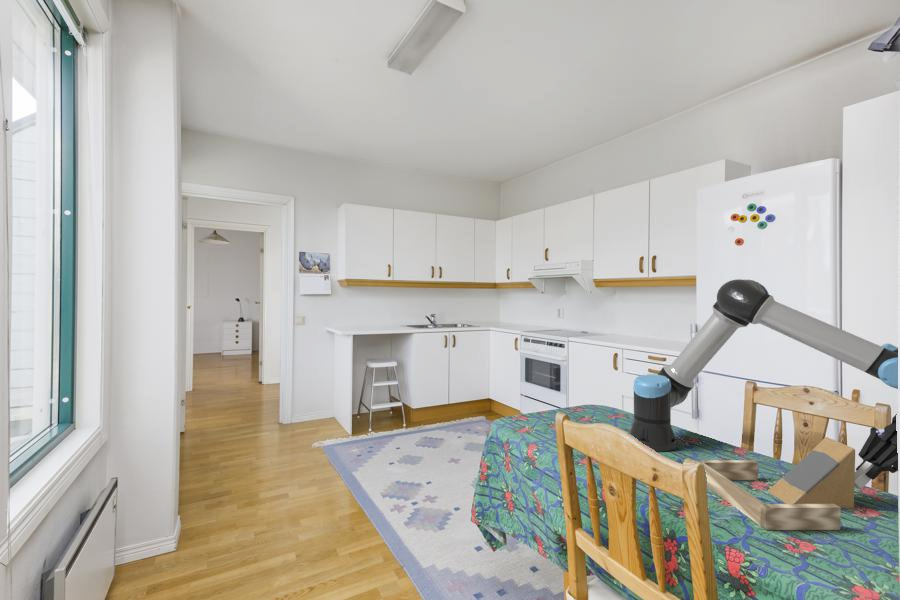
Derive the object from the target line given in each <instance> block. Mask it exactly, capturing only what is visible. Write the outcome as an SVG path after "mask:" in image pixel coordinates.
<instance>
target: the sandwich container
mask: <svg viewBox="0 0 900 600" xmlns="http://www.w3.org/2000/svg"><path fill="white" fill-rule="evenodd" d="M855 472H856V449H855V448H853V447H852V446H849V445H847V444H844V443H843V442H840V441H838V440H835V439H832V438H830V437H827V436H825V437H824V438H823V439H822V440H821V441H820V442H819V443H818V444H817V445H816V446H815V447H814V448H813V449H812V450H810V452H809V453H807V455H805V456H804V458H802V459H801V460H800V461H799V462H798V463H797V464H795V465H794V466H793V467H792V468H791V469H789V471H788V472H787V473H786V474H784V476H783V477H781V478H780V479H779V480H778V481H777V482H776V483H775V484H774V485H772V486H771V487H770V488H769V489H767V492H768V493H769V494H771V495H772V496H774V497H775V498H776V497H777V498H776V499H778V498H779V499H780V500H779V499H778V500H779V501H781V500H782V501H783V502H782V501H781V502H782V503H783V504H785V503H786V504H835V505H837V506H839V507H841V509H855V487H856V486H855Z"/></svg>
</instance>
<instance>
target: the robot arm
mask: <svg viewBox="0 0 900 600" xmlns="http://www.w3.org/2000/svg"><path fill="white" fill-rule="evenodd" d="M712 311H713V313H712V314H711V315H710V317H709V318H708V319H707V320H706V321H705V323H704V324H703V325H702V326H701V328H700V329H699V330H698V331H697V333H695V335H694V336H693V337H692V338H691V340H690V341H688V342H689V343H687V344H686V346H685V347H684V348H683V350H682V351H681V352H680V353H679V354H678V356H677V357H676V358H675V359H674V361H672V363H671V364H665V365H664V366H662V367H661V369H660V371H659V372H658V373H657V374H654V373H653V374H650V373H649V374H642V375H639V376H637V377H636V378H635V379H634V382H633V388H632V389H633V421H632V423H631V426H630V430H629V432H628V434H629V433H630V434H631V435H633V436H634V437H635V438H637V439H638V440H639V441H641V442H642V443H643V444H645V445H647V446H649V447H650V448H652V449H654V450H655V451H654V452H671V451H674V450H676V449H677V439H676V436H675V433H674V431H673V427H672V424H671V421H672V420H671V416H672V415H671V413H672V412H671V411H672V410H671V409H672V408H673V407H675V406H678V405H680V404H682V403H683V402H684V401H685V400H686V399H687V398H688V395H689V393H690V392H691V390H692V389H694V387H695V382H694V380H695V379H696V377H697V376H699V374H700V373H701V371H703V369H704V368H705V367H706V366H707V364H708V363H709V362H710V361H711V360H712V359H713V358H714V357H715V355H716V354H717V353H718V352H719V351H720V350H721V348H723V346H724V345H725V344H726V343H727V342H728V341H729V340H730V339H731V337H732V336H733V335H734V333H735V332H736V331H737V330H738V329H739V328H747V327H748V325H750V324H752V325H757V324H760V325H762V326H764V327H767V328H769V329H771V330H773V331H776V332H778V333H779V334H782V335H784V336H786V337H787V338H790V339H793V340H795V341H797V342H799V343H802V344H803V345H806V346H807V347H810V348H813V349H814V350H816V351H819V352H820V353H823V354H826V355H827V356H830V357H832V358H833V359H836V360H838V361H840V362H842V363H845V364H847V365H849V366H851V367H854V368H855V369H857V370H860V371H861V372H864V373H866V374H868V375H870V376H872V377H874V378H876V379H879V380H881V382H882V383H884V384H885V385H887V387H888V386H889V387H891V388H893V389H897V390H899V389H898V348H899V347H897V346H896V345H893V344H892V343H884V344H882V345H880V344H876V343H874V342H871V341H870V340H868V339H866V338H862V337H859V336H857V335H855V334H853V333H850V332H848V331H846V330H843V329H841V328H839V327H837V326H834V325H832V324H829V323H827V322H825V321H823V320H820V319H818V318H816V317H813V316H811V315H808V314H806V313H804V312H801V311H799V310H797V309H795V308H792V307H790V306H787V305H785V304H783V303H780V302H778V301H776V300H775V299H774V296H773V295H770V294H769V292H768V290H767V288H766V287H765V286H764V285H763V284H761V283H760V282H757V281H755V280H754V279H740V278H739V279H731V280H729V281H727V282H725V283H723V284H722V285H721V286H720V288H719V289H718V291H717V293H716V302H715V303H714V304H713V305H712ZM896 415H897V413H896V414H895V415H894V416H893V417H892V419H891V423H890V424H888V425H885V427H884V428H876V426H875V427H874V426H873V427H871V428H870V434H869V436H868V437H867V439H866V441H865V442H864V444H863V446H862V447H861V449H860V450H859V453H858V456H859V457H860V458H861V459H862V460H863V461H861V463H860V464H859V465H858V466H857V467H855V487H856V488H858V489H860V490H862V489H863V488H865V486H866V485H867V484H868V483H869V482H870V481H871V480H873V481H874V480H875V479H877V478H878V476H880V475H881V474H882V473H883V472H884V473H885V472H889V473H891V474H895V473H897V472H898V471H899V470H898V453H897V431H896Z"/></svg>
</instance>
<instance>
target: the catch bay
mask: <svg viewBox="0 0 900 600" xmlns="http://www.w3.org/2000/svg"><path fill="white" fill-rule="evenodd" d="M696 461H697V462H700V463H702V464H704V467H705V472H706V477H707V486H706V487H707V488H709V489H710V490H711V491H713V492H714V494H717V495H718V496H719V497H720V498H721V499H723V500H725V501H726V502H728V503H729V504H730V505H731V506H733V507H734V508H735V507H736V508H735V509H737V510H738V511H739V510H740V512H741V513H742V514H743V515H744V516H746V517H747V518H749V519H750V520H752V521H753V522H754V523H756V524H757V525H758V526H760V528H762V529H764V530H765V531H817V530H818V531H824V530H826V531H827V530H829V531H834V530H835V531H838V530H839V531H841V526H842V525H841V523H842V522H841V519H842V517H841V510H842V508H841V507H839V506H837V505H835V504H785V503H774V504H773V503H772V504H771V503H770V504H769V503H768V504H767V503H764V501H762V500H760V499H758V498H757V497H756V496H754V495H753V494H752V493H750V492H749V491H747V490H745V489H744V488H742V487H741V486H739V485H738V484H736V483H735V482H733V481H758V480H759V462H758V461H756V460H754V459H740V460H739V459H734V460H733V459H731V460H729V459H723V460H722V459H720V460H719V459H717V460H716V459H712V460H710V459H709V460H708V459H707V460H705V459H704V460H703V459H702V460H701V459H700V460H695V462H696Z"/></svg>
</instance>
